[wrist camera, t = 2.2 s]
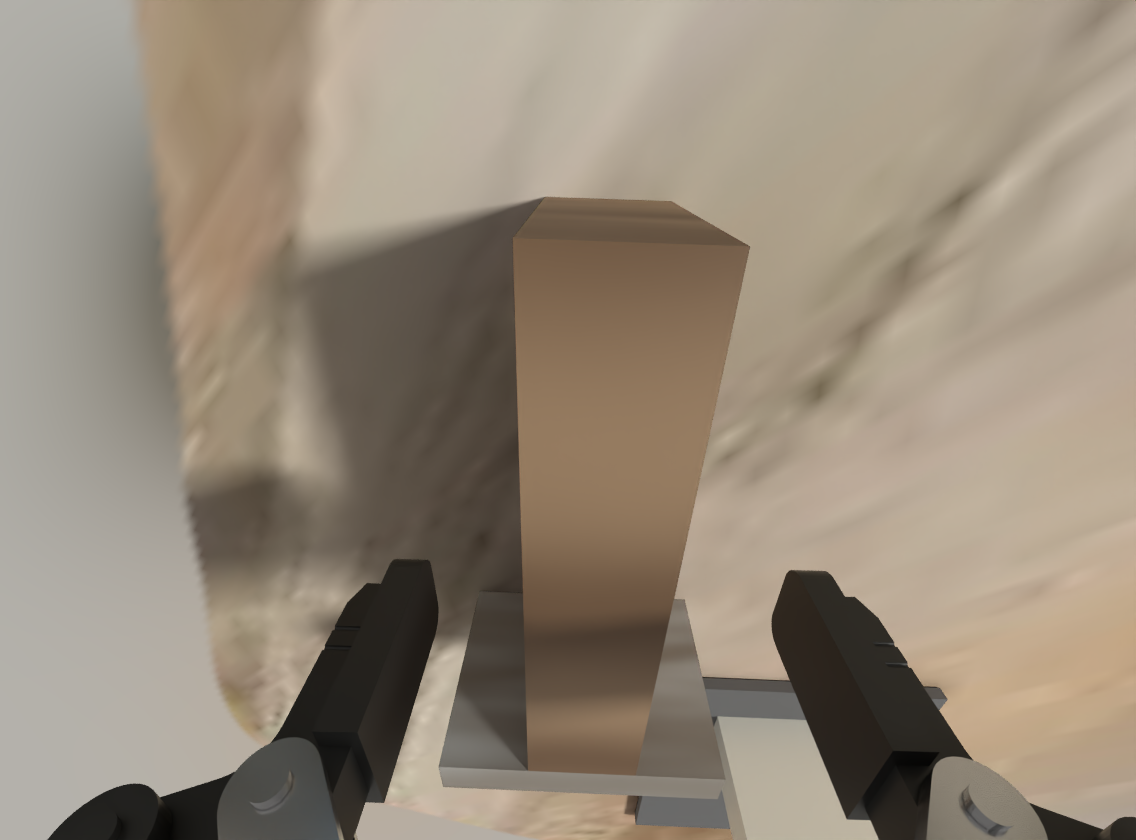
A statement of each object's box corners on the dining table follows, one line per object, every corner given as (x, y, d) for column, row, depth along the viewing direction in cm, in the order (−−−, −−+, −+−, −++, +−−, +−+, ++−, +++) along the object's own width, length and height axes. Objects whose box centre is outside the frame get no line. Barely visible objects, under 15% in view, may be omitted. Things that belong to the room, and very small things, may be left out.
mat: (667, 676, 21) (669, 687, 20) (939, 687, 20) (947, 699, 20) (634, 813, 28) (635, 824, 27) (837, 823, 27) (841, 833, 27)
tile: (717, 716, 21) (771, 943, 15) (871, 723, 21) (988, 953, 15) (709, 737, 22) (758, 959, 16) (857, 744, 22) (961, 969, 16)
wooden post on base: (440, 193, 11) (316, 231, 6) (776, 204, 11) (948, 253, 6) (481, 610, 19) (443, 786, 14) (679, 618, 19) (717, 798, 13)
